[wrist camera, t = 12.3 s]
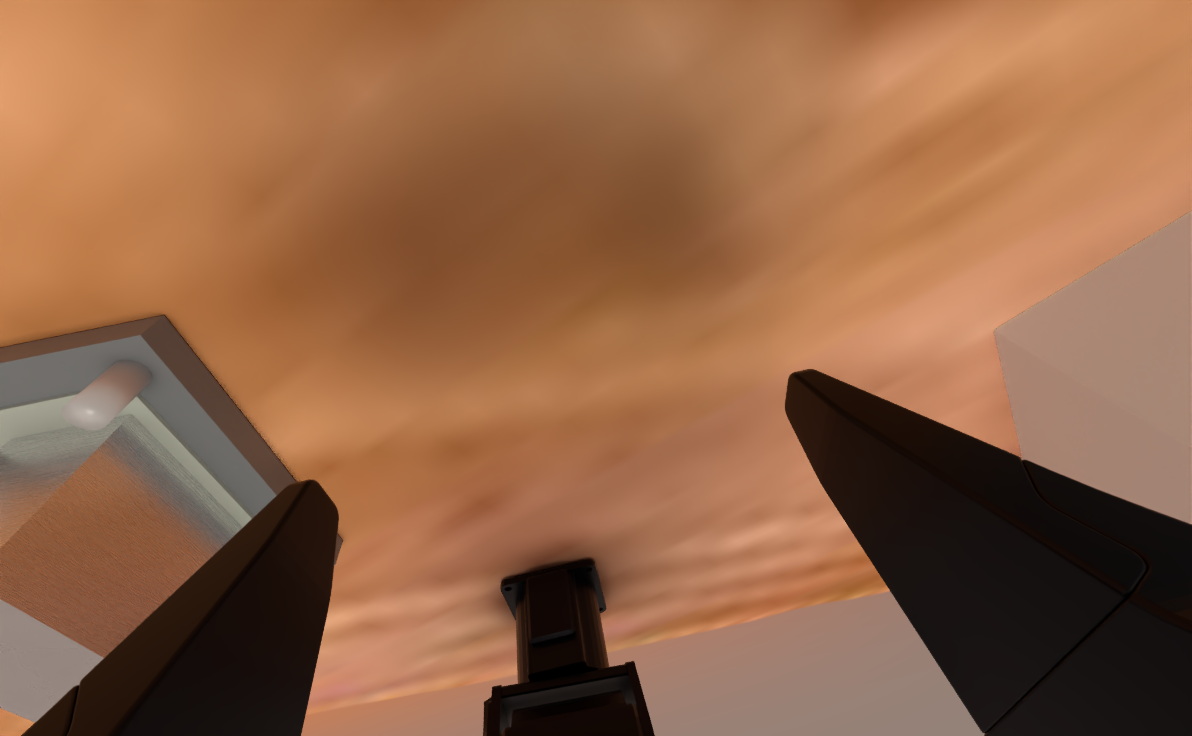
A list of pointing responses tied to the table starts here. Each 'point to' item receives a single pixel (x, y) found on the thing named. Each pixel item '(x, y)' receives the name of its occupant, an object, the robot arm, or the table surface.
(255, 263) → the table surface
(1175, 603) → the robot arm
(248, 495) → the pin tray
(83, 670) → the block
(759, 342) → the table surface
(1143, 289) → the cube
